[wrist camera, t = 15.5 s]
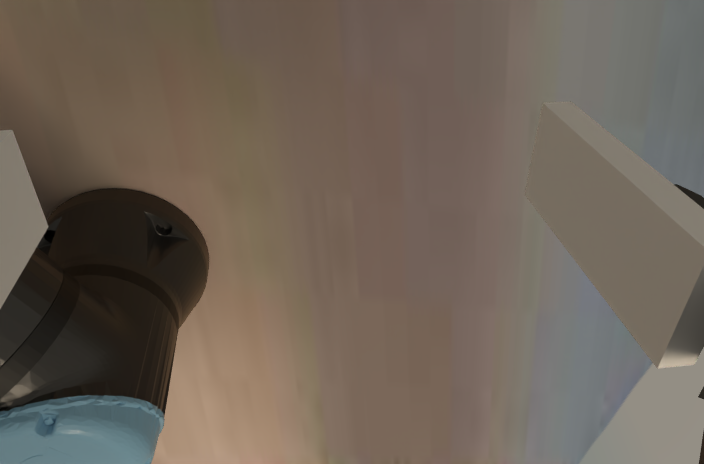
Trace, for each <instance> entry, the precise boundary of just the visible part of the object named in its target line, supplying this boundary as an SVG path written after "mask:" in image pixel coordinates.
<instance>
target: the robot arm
mask: <svg viewBox="0 0 704 464" xmlns="http://www.w3.org/2000/svg"><path fill="white" fill-rule="evenodd" d="M525 195H526V197H527V198H528V199H529V201H530V202H531V203H532V205H533V206H534V207H535V209H536V210H537V211H538V213H539V214H540V215H541V216H542V218H543V219H544V220H545V222H546V223H547V224H548V226H549V227H550V228H551V230H552V231H553V232H554V234H555V235H556V236H557V237H558V239H559V240H560V241H561V243H562V244H563V245H564V247H565V248H566V249H567V251H568V252H569V253H570V255H571V256H572V257H573V258H574V260H575V261H576V262H577V264H578V265H579V266H580V268H581V269H582V270H583V272H584V273H585V274H586V276H587V277H588V278H589V279H590V281H591V282H592V283H593V285H594V286H595V287H596V289H597V290H598V291H599V293H600V294H601V295H602V297H603V298H604V299H605V300H606V302H607V303H608V304H609V306H610V307H611V308H612V310H613V311H614V312H615V314H616V315H617V316H618V318H619V319H620V320H621V321H622V323H623V324H624V325H625V327H626V328H627V329H628V331H629V332H630V333H631V335H632V336H633V337H634V339H635V340H636V341H637V342H638V344H639V345H640V346H641V348H642V349H643V350H644V352H645V353H646V354H647V356H648V357H649V358H650V360H651V361H652V362H653V363H654V365H655V366H656V367H657V368H667V367H677V366H686V365H694V364H695V363H696V361H697V359H698V357H699V355H700V353H701V351H702V349H703V347H704V198H703V197H702V196H701V195H699V194H696V193H694V192H692V191H690V190H688V189H686V188H684V187H682V186H679V185H677V184H675V185H673V184H672V183H671V182H670V181H668V180H667V179H666V178H665V177H664V176H662V175H661V174H660V173H659V172H657V171H656V170H655V169H654V168H652V167H651V166H650V165H649V164H647V163H646V162H645V161H644V160H643V159H641V158H640V157H639V156H638V155H636V154H635V153H634V152H633V151H631V150H630V149H629V148H628V147H626V146H625V145H624V144H623V143H621V142H620V141H619V140H618V139H617V138H615V137H614V136H613V135H612V134H610V133H609V132H608V131H607V130H605V129H604V128H603V127H602V126H600V125H599V124H598V123H597V122H596V121H594V120H593V119H592V118H591V117H589V116H588V115H587V114H586V113H584V112H583V111H582V110H581V109H579V108H578V107H577V106H576V105H575V104H573V103H572V102H571V101H569V102H549V103H543V104H542V109H541V114H540V119H539V124H538V129H537V134H536V139H535V144H534V149H533V154H532V159H531V164H530V169H529V174H528V179H527V184H526V189H525ZM208 269H209V254H208V249H207V246H206V243H205V240H204V238H203V236H202V234H201V233H200V231H199V229H198V228H197V227H196V225H195V224H194V223H193V222H192V221H191V220H190V219H189V218H188V217H187V216H186V215H185V214H184V213H183V212H181V211H180V210H179V209H177V208H176V207H174V206H173V205H171V204H169V203H168V202H166V201H164V200H162V199H159V198H157V197H155V196H152V195H149V194H145V193H142V192H137V191H132V190H124V189H104V190H96V191H91V192H87V193H84V194H81V195H78V196H76V197H74V198H72V199H70V200H68V201H66V202H65V203H63V204H62V205H61V206H59V207H58V208H57V209H56V210H55V211H54V212H53V213H52V214H51V215H50V217H49V218H48V220H47V221H46V219H45V216H44V213H43V210H42V208H41V205H40V202H39V200H38V197H37V194H36V192H35V189H34V186H33V184H32V181H31V178H30V176H29V173H28V170H27V168H26V165H25V162H24V159H23V157H22V154H21V151H20V149H19V146H18V143H17V141H16V138H15V135H14V133H13V130H0V464H151V462H152V459H153V456H154V452H155V448H156V444H157V440H158V437H159V434H160V432H161V431H162V429H163V426H164V415H165V409H166V403H167V396H168V390H169V384H170V378H171V372H172V365H173V359H174V353H175V347H176V340H177V334H178V329H179V328H180V327H181V325H182V324H183V322H184V321H185V320H186V318H187V317H188V315H189V314H190V313H191V311H192V310H193V308H194V307H195V306H196V304H197V303H198V301H199V300H200V298H201V296H202V294H203V292H204V289H205V286H206V282H207V276H208ZM698 397H699V398H702V399H704V387H703V389H702V391H701V393H700V395H699V396H698ZM699 464H704V432H703V439H702V446H701V453H700V460H699Z"/></svg>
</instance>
